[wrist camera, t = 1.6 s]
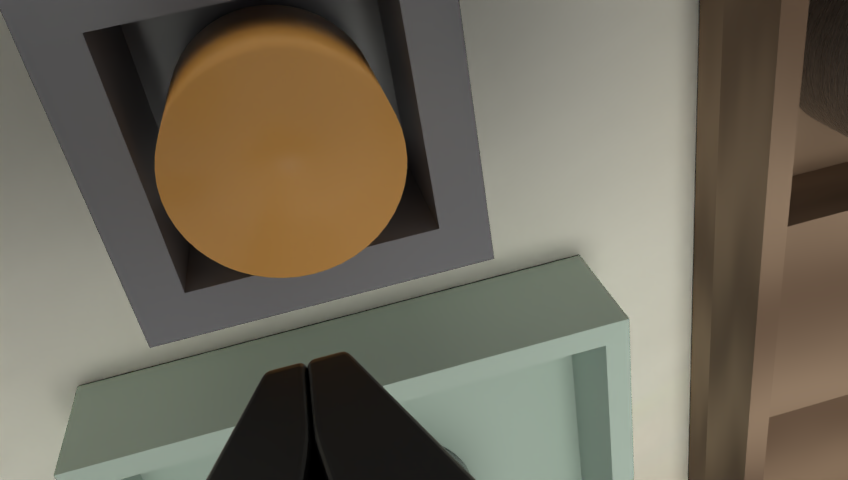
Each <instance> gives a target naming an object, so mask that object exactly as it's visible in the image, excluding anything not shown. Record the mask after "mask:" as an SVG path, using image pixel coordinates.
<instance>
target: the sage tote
mask: <svg viewBox="0 0 848 480" xmlns="http://www.w3.org/2000/svg"><path fill="white" fill-rule="evenodd" d="M343 351H344V352H348V353H349V354H350V355H352V356H353V357H354V358H355V359H356V360H357V361H358V362H359V363H360V364H361V365H362V366H363V367H364V368H365V369H366V370H367V371H368V372H369V373H370V374H371V375H372V376H373V377H374V378H375V379H376V380H377V381H378V382H379V383H380V384H381V385H382V386H383V387H384V388H385V389H386V390H387V391H388V392H389V393H390V394H391V395H392V396H393V397H394V398H395V399H396V400H397V401H398V402H399V403H400V404H401V405H402V406H403V407H404V408H405V409H406V410H407V411H408V412H409V413H410V414H411V415H412V416H413V417H414V418H415V419H416V420H417V421H418V422H419V423H420V424H421V425H422V426H423V427H424V428H425V429H426V430H427V431H428V432H429V433H430V434H431V435H432V436H433V437H434V438H435V439H436V440H437V441H438V442H439V443H440V444H441V445H442V446H443V447H445V448H447V449H449V450H450V451H452V452H453V453H455V454H456V455H457V456H458V457H459V458H460V459H461V460H462V461H463V462H464V464H465V465H466V466H467V468H468V470H469V472H470V474H471V475H472V476H473V477H474V478H475V479H476V480H634V466H633V431H632V397H631V363H630V329H629V318H628V317H627V315H626V314H625V313H624V312H623V310H622V309H621V308H620V306H619V305H618V304H617V303H616V301H615V300H614V299H613V297H612V296H611V295H610V294H609V292H608V291H607V290H606V289H605V287H604V286H603V285H602V283H601V282H600V281H599V280H598V278H597V277H596V276H595V274H594V273H593V272H592V271H591V269H590V268H589V267H588V265H587V264H586V263H585V262H584V260H583V259H582V258H581V257H580V255H579V256H575V257H571V258H567V259H563V260H559V261H556V262H552V263H548V264H544V265H540V266H537V267H533V268H529V269H525V270H521V271H517V272H514V273H510V274H506V275H502V276H498V277H494V278H491V279H487V280H483V281H479V282H475V283H472V284H468V285H464V286H460V287H456V288H452V289H449V290H445V291H441V292H437V293H433V294H430V295H426V296H422V297H418V298H414V299H410V300H407V301H403V302H399V303H395V304H391V305H388V306H384V307H380V308H376V309H372V310H368V311H365V312H361V313H357V314H353V315H349V316H345V317H342V318H338V319H334V320H330V321H326V322H323V323H319V324H315V325H311V326H307V327H303V328H300V329H296V330H292V331H288V332H284V333H281V334H277V335H273V336H269V337H265V338H261V339H258V340H254V341H250V342H246V343H242V344H239V345H235V346H231V347H227V348H223V349H219V350H216V351H212V352H208V353H204V354H200V355H197V356H193V357H189V358H185V359H181V360H177V361H174V362H170V363H166V364H162V365H158V366H154V367H151V368H147V369H143V370H139V371H135V372H132V373H128V374H124V375H120V376H116V377H112V378H109V379H105V380H101V381H97V382H93V383H90V384H86V385H82V386H78V388H77V391H76V395H75V399H74V402H73V406H72V410H71V414H70V417H69V421H68V425H67V428H66V432H65V436H64V440H63V443H62V447H61V451H60V454H59V458H58V462H57V465H56V469H55V473H54V477H55V479H56V480H206V479H207V477H208V475H209V473H210V471H211V470H212V468H213V466H214V464H215V462H216V460H217V459H218V457H219V455H220V453H221V451H222V449H223V448H224V446H225V444H226V442H227V440H228V439H229V437H230V435H231V433H232V431H233V429H234V428H235V426H236V424H237V422H238V420H239V418H240V417H241V415H242V413H243V411H244V409H245V408H246V406H247V404H248V402H249V400H250V398H251V397H252V395H253V393H254V391H255V389H256V387H257V386H258V384H259V382H260V380H261V378H262V377H263V375H264V374H265V373H266V372H268V371H270V370H274V369H278V368H282V367H285V366H289V365H293V364H297V363H303V364H305V365H306V366H307V368H308V364H309V362H310V361H311V360H313V359H316V358H319V357H323V356H327V355H330V354H334V353H338V352H343Z"/></svg>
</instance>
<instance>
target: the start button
mask: <svg viewBox="0 0 848 480" xmlns="http://www.w3.org/2000/svg"><path fill="white" fill-rule="evenodd" d="M406 174H407V151H406V143H405V139H404V135H403V131H402V128H401V126H400V123H399V121H398V118H397V116H396V114H395V112H394V110H393V108H392V106H391V105H390V103H389V101H388V99H387V97H386V95H385V93H384V92H383V90H382V88H381V86H380V84H379V82H378V80H377V79H376V77H375V75H374V73H373V71H372V69H371V67H370V66H369V64H368V62H367V60H366V59H365V57H364V55H363V53H362V52H361V50H360V49H359V48H358V46H357V45H356V44H355V43H354V41H353V40H352V39H351V38H350V37H349V36H348V35H347V34H346V33H345V32H344V31H342V30H341V29H340V28H338V27H337V26H336V25H334V24H333V23H332V22H330V21H328V20H326V19H325V18H323V17H321V16H319V15H317V14H314V13H312V12H309V11H307V10H303V9H299V8H296V7H292V6H283V5H259V6H252V7H247V8H243V9H240V10H236V11H233V12H231V13H229V14H226V15H224V16H222V17H220V18H218V19H217V20H215V21H214V22H212V23H210V24H209V25H207V26H206V27H205V28H204V29H203V30H201V31H200V32H199V33H198V34H197V35H196V36H195V37H194V38H193V39H192V41H191V42H190V43H189V44H188V45H187V47H186V48H185V50H184V51H183V53H182V54H181V56H180V58H179V60H178V62H177V64H176V66H175V69H174V72H173V75H172V78H171V82H170V86H169V90H168V95H167V99H166V103H165V108H164V112H163V116H162V121H161V125H160V129H159V134H158V138H157V144H156V150H155V177H156V184H157V188H158V192H159V195H160V198H161V202H162V204H163V206H164V208H165V210H166V212H167V214H168V216H169V218H170V219H171V221H172V222H173V224H174V225H175V227H176V228H177V230H178V231H179V232H180V233H181V234H182V235H183V237H184V238H185V239H186V240H187V241H188V242H189V243H190V244H192V245H193V246H194V247H195V248H196V249H197V250H198V251H200V252H201V253H203V254H204V255H206V256H207V257H209V258H210V259H212V260H214V261H216V262H217V263H219V264H221V265H223V266H225V267H228V268H231V269H233V270H236V271H238V272H242V273H246V274H250V275H254V276H261V277H269V278H289V277H300V276H305V275H310V274H315V273H318V272H321V271H325V270H328V269H330V268H333V267H335V266H337V265H339V264H342V263H344V262H345V261H347V260H349V259H350V258H352V257H354V256H355V255H357V254H358V253H359V252H361V251H362V250H363V249H365V248H366V247H367V246H368V245H369V244H370V243H371V242H373V241H374V240H375V239H376V238H377V237H378V236H379V234H380V233H381V232H382V231H383V229H384V228H385V227H386V226H387V224H388V223H389V221H390V219H391V218H392V216H393V215H394V213H395V211H396V209H397V206H398V204H399V202H400V200H401V196H402V193H403V190H404V187H405V181H406Z"/></svg>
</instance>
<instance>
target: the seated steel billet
mask: <svg viewBox="0 0 848 480" xmlns="http://www.w3.org/2000/svg"><path fill="white" fill-rule="evenodd" d="M799 107H800V108H801V110H802V111H803V112H804V113H805V114H807V115H808V116H810V117H811V118H813V119H814V120H816V121H818V122H820V123H822V124H823V125H825V126H827V127H829V128H831V129H833V130H835V131H837V132H839V133H840V134H842V135H844V136H846V137H848V0H809V9H808V20H807V30H806V40H805V51H804V61H803V72H802V82H801V92H800V103H799Z"/></svg>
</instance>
